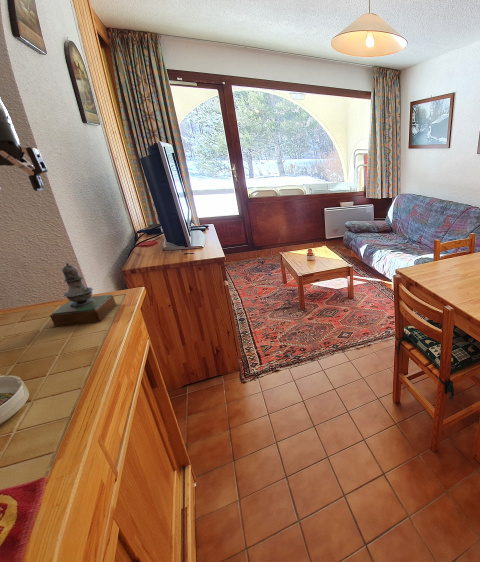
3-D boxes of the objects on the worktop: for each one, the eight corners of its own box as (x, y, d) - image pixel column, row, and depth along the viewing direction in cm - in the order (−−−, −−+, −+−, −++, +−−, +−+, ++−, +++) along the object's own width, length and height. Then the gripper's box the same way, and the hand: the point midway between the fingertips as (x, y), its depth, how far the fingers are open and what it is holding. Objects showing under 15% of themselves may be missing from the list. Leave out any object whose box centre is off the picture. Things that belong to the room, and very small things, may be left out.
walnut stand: (54, 326, 81) (49, 314, 80) (75, 309, 90) (70, 298, 88) (100, 321, 84) (95, 309, 83) (116, 305, 93) (112, 293, 91)
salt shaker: (63, 306, 84) (45, 265, 79) (86, 297, 89) (70, 258, 84) (79, 309, 82) (62, 267, 78) (102, 299, 88) (87, 260, 83)
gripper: (-69, 117, 68) (-32, 193, 74) (14, 120, 72) (43, 192, 78) (-39, 119, 74) (-7, 189, 81) (36, 122, 78) (60, 188, 85)
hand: (18, 190), depth 79 cm, fingers open, 8 cm apart
